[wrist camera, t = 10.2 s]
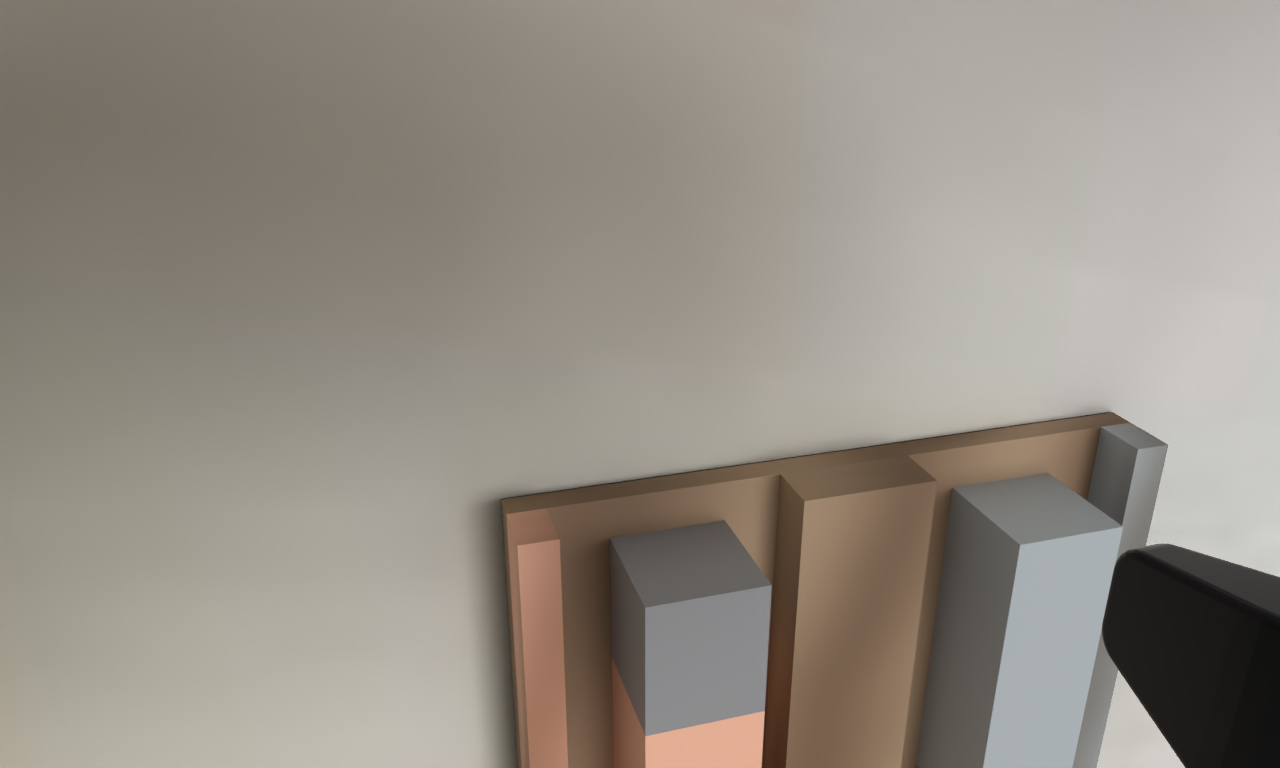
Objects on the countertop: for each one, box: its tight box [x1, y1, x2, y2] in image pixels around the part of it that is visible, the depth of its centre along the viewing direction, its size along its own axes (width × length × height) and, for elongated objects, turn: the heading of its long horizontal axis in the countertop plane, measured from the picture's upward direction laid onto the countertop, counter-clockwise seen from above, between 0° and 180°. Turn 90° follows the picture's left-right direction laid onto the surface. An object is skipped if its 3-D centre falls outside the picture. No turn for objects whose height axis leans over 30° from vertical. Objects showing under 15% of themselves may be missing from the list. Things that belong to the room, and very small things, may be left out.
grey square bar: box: [915, 473, 1123, 768], centre depth 25 cm, size 11×2×2 cm, turn 0°
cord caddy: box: [501, 412, 1168, 768], centre depth 24 cm, size 15×13×2 cm
